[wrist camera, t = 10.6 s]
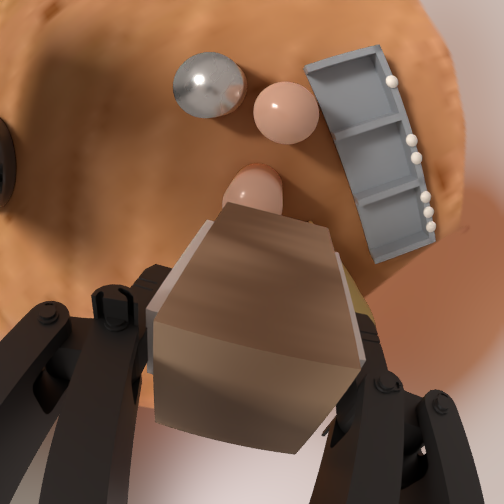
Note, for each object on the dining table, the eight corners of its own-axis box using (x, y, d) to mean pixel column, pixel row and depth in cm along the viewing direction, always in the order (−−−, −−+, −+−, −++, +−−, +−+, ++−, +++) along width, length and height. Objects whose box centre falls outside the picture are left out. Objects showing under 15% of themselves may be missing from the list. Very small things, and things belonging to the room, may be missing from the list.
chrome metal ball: (177, 76, 26) (162, 72, 22) (231, 48, 24) (224, 40, 21) (202, 126, 28) (190, 129, 24) (257, 101, 26) (253, 100, 23)
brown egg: (224, 174, 30) (212, 190, 25) (270, 155, 29) (268, 167, 23) (245, 217, 32) (237, 241, 27) (289, 200, 31) (291, 222, 25)
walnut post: (211, 286, 15) (155, 422, 8) (227, 201, 13) (153, 320, 6) (298, 308, 15) (295, 454, 8) (328, 228, 13) (361, 369, 6)
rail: (303, 68, 24) (305, 65, 22) (374, 48, 22) (382, 43, 20) (370, 253, 32) (375, 265, 30) (429, 231, 30) (438, 241, 28)
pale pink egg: (250, 98, 26) (242, 96, 21) (299, 79, 25) (303, 72, 20) (271, 144, 28) (269, 153, 23) (319, 126, 27) (328, 131, 22)
